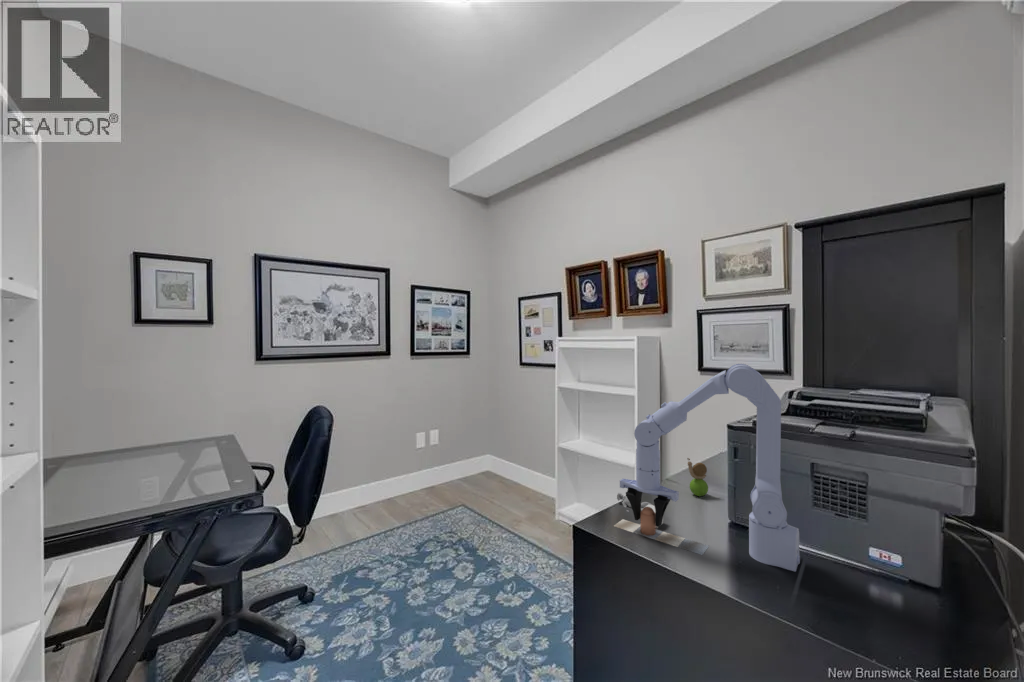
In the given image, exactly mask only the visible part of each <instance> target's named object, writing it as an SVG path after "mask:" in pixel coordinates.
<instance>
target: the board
mask: <svg viewBox="0 0 1024 682" xmlns="http://www.w3.org/2000/svg"><path fill="white" fill-rule="evenodd" d="M613 527H614V528H618V529H621V530H624V531H627V532H630V533H633V534H636V535H640V536H642V537H645V538H648V539H651V540H655V541H658V542H661V543H664V544H667V545H670V546H672V547H676V548H679V549H682V550H686V551H688V552H692V553H695V554H698V555H701V556H703V555H704V553H705V552H706V551H707V550H708V548H709V547H710V545H708V544H704V543H702V542H698V541H695V540H691V539H688V538H685V537H683V536H679V535H676V534H672V533H669V532H667V531H662V530H659V529H656V533H655V535H645V534H643V533H641V531H640V527H641V523H637V522H634V521H630V520H626V519H623V518H622V519H621V520H620V521H618V522H617V523H615V524H614V525H613Z"/></svg>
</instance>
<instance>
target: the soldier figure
mask: <svg viewBox="0 0 1024 682" xmlns="http://www.w3.org/2000/svg"><path fill="white" fill-rule="evenodd" d="M616 499H617V501H618V502H619V501H620V500H621V504H622V506H623V507H624V508H627V507H629V508H631V509H632V507H631V504H630V502H629V500H628V498H627V496H626V495H625V496H624V494H623V493H621V492H618V493H617V496H616ZM622 501H623V502H622ZM648 504H649V505H653V504H652V503H651V502H648V501H641V511H642V509H643V508H644V507H646V506H647V505H648ZM653 506H655V505H653ZM626 512H629V510H627V509H626Z"/></svg>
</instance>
